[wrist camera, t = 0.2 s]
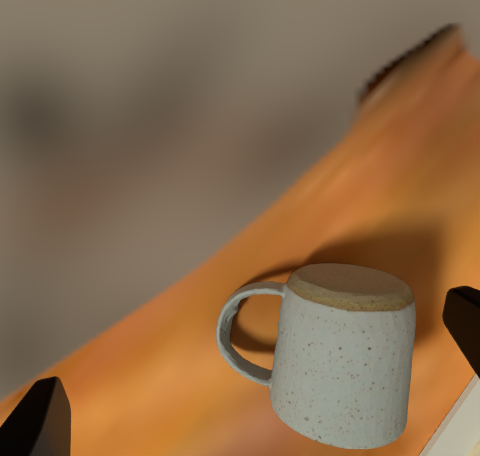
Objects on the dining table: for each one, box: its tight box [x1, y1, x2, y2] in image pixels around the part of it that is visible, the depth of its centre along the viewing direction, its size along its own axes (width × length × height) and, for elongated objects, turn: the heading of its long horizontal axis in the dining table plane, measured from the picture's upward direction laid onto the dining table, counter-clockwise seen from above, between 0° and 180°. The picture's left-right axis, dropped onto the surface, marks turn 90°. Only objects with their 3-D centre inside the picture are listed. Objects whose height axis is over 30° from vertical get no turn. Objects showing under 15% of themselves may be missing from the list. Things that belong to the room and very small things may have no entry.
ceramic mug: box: [216, 263, 416, 449], centre depth 23 cm, size 11×8×8 cm
